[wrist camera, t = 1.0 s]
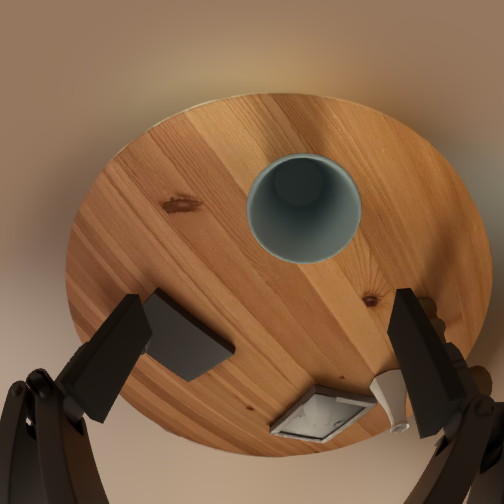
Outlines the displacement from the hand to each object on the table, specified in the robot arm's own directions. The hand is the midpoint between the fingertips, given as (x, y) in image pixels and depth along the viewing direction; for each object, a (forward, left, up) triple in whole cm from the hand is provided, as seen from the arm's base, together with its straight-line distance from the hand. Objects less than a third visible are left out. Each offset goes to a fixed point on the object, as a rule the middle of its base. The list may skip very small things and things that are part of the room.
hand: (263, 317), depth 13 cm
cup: (-1, +4, -17) cm, 18 cm away
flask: (+34, -6, -17) cm, 39 cm away
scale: (+3, -24, -17) cm, 30 cm away
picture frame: (+34, -21, -17) cm, 44 cm away
